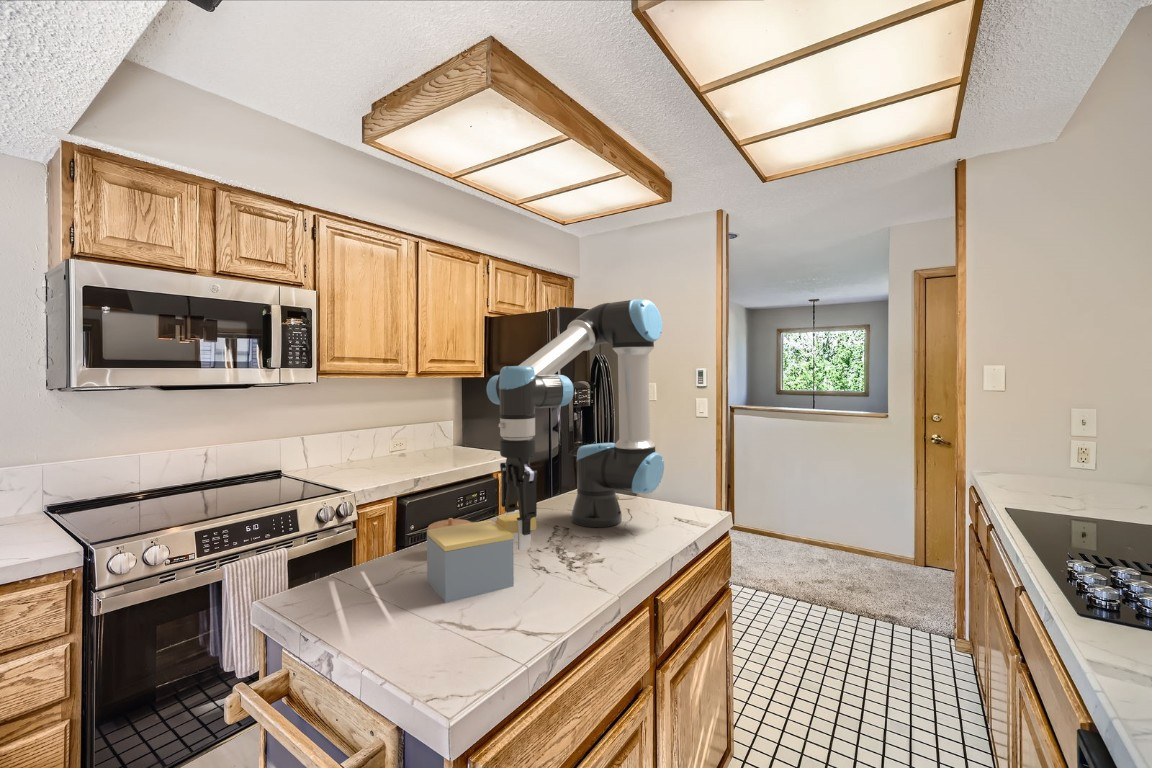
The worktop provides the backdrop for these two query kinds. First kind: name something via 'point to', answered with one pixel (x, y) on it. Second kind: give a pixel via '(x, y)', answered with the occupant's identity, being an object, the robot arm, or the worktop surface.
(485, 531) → the lid
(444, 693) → the worktop surface
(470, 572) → the tub
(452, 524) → the lidded jar
